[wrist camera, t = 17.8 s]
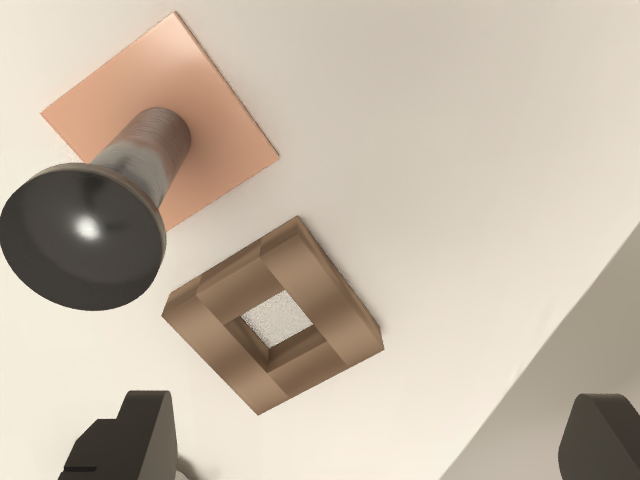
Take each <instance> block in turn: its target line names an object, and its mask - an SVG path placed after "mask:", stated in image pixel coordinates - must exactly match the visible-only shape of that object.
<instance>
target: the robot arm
mask: <svg viewBox="0 0 640 480" xmlns="http://www.w3.org/2000/svg"><path fill="white" fill-rule="evenodd" d="M558 462H559V468H560V472H561V476H562V479H563V480H640V415H639V414H638V412H637V411H636V410H635V408H634V407H633V406H632V404H630V402H629V401H628V399H627V398H625V397H624V396H623V395H621V394H580V395H578V396H577V398H576V399H575V402H574V404H573V407H572V410H571V414H570V416H569V419H568V422H567V426H566V428H565V431H564V435H563V437H562V440H561V444H560V446H559V452H558ZM176 468H177V440H176V431H175V423H174V414H173V406H172V398H171V393H170V392H169V391H129V392H128V393H127V394H126V396H125V399H124V401H123V404H122V406H121V408H120V411H119V413H118V416H117V418H116V419H97V420H96V421H95V422H94V423H93V424H92V425H91V426H90V427H89V428H88V429H87V430H86V431H85V432H84V433H83V434H82V435H81V436H80V437H79V438H78V439H77V440H76V442H75V444H74V446H73V448H72V450H71V452H70V455H69V457H68V459H67V461H66V463H65V465H64V471H63V472H61V474H60V476H59V478H58V480H175V476H176Z"/></svg>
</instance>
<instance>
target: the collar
mask: <svg viewBox="0 0 640 480" xmlns="http://www.w3.org/2000/svg"><path fill="white" fill-rule="evenodd" d="M283 290H286V291H287V292H288V293H289V295H290V296H291V297H292V298H293V299H294V301H295V302H296V303H297V304H298V306H299V307H300V308H301V309H302V311H303V312H304V313H305V314H306V316H307V317H308V318H309V319H310V320H311V322H312V323H313V324H314V325H312V326H310V327H308V328H306V329H305V330H303V331H301V332H299V333H297V334H296V335H294V336H292V337H290V338H288V339H287V340H285V341H283V342H281V343H279V344H277V345H276V346H274V347H272V348H270V349H268V347H267V346H266V345H265V344H264V343H263V342H262V341H261V340H260V338H259V337H258V336H257V335H256V334H255V333H254V332H253V330H252V329H251V328H250V327H249V326H248V325H247V324H246V323H245V321H244V320H243V319H242V318H241V317H240V315H242V314H244V313H245V312H247V311H249V310H250V309H252V308H254V307H256V306H257V305H259V304H261V303H263V302H264V301H266V300H268V299H269V298H271V297H273V296H275V295H276V294H278V293H280V292H282V291H283ZM161 316H162V317H163V318H164V319H165V320H166V321H167V322H168V323H169V324H170V325H171V326H172V328H173V329H174V330H175V331H176V332H177V333H178V334H179V335H180V336H181V337H182V338H183V339H184V340H185V341H186V342H187V343H188V344H189V345H190V346H191V347H192V348H193V349H194V350H195V351H196V352H197V353H198V354H199V355H200V356H201V357H202V358H203V359H204V361H205V362H206V363H207V364H208V365H209V366H210V367H211V368H212V369H213V370H214V371H215V372H216V373H217V374H218V375H219V376H220V377H221V378H222V379H223V380H224V381H225V382H226V383H227V384H228V385H229V386H230V387H231V388H232V389H233V390H234V391H235V392H236V394H237V395H238V396H239V397H240V398H241V399H242V400H243V401H244V402H245V403H246V404H247V405H248V406H249V407H250V408H251V409H252V410H253V411H254V412H255V413H256V414H257V415H260V414H262V413H264V412H266V411H268V410H270V409H272V408H274V407H276V406H277V405H279V404H281V403H283V402H285V401H287V400H289V399H291V398H293V397H295V396H297V395H299V394H300V393H302V392H304V391H306V390H308V389H310V388H312V387H314V386H316V385H318V384H320V383H322V382H323V381H325V380H327V379H329V378H331V377H333V376H335V375H337V374H339V373H341V372H343V371H345V370H347V369H348V368H350V367H352V366H354V365H356V364H358V363H360V362H362V361H364V360H366V359H368V358H370V357H371V356H373V355H375V354H377V353H379V352H381V351H383V350H384V345H383V341H382V336H381V331H380V327H379V325H378V324H377V322H376V321H375V320H374V318H373V317H372V316H371V314H370V313H369V312H368V310H367V309H366V308H365V306H364V305H363V304H362V302H361V301H360V300H359V298H358V297H357V296H356V294H355V293H354V291H353V290H352V289H351V287H350V286H349V285H348V283H347V282H346V281H345V279H344V278H343V277H342V275H341V274H340V273H339V271H338V270H337V269H336V267H335V266H334V264H333V263H332V262H331V260H330V259H329V258H328V256H327V255H326V254H325V252H324V251H323V250H322V248H321V247H320V246H319V244H318V243H317V242H316V240H315V239H314V237H313V236H312V235H311V233H310V232H309V231H308V229H307V228H306V227H305V225H304V224H303V223H302V221H301V220H300V219H299V217H298V216H296V217H295V218H293V219H291V220H290V221H288V222H286V223H285V224H283V225H282V226H280V227H278V228H277V229H275V230H273V231H272V232H270V233H268V234H267V235H265V236H264V237H262V238H260V239H259V240H257V241H255V242H254V243H252V244H250V245H249V246H247V247H246V248H244V249H242V250H241V251H239V252H237V253H236V254H234V255H232V256H231V257H229V258H228V259H226V260H224V261H223V262H221V263H219V264H218V265H216V266H214V267H213V268H211V269H210V270H208V271H206V272H205V273H203V274H201V275H200V276H198V277H196V278H195V279H193V280H191V281H190V282H188V283H187V284H185V285H183V286H182V287H180V288H178V289H177V290H175V291H173V292H172V293H170V295H169V298H168V300H167V303H166V305H165V308H164V310H163V313H162V315H161Z"/></svg>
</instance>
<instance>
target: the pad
mask: <svg viewBox="0 0 640 480" xmlns="http://www.w3.org/2000/svg"><path fill="white" fill-rule="evenodd" d="M153 107H161V108H166V109H169V110H171V111H173V112H175V113H176V114H178V115H179V116H180V117H181V118H182V119H183V120H184V121H185V123H186V124H187V126H188V128H189V130H190V134H191V147H190V150H189V152H188V154H187V156H186V158H185V160H184V162H183V163H182V165H181V167H180V169H179V171H178V173H177V175H176V177H175V179H174V180H173V182H172V184H171V186H170V188H169V190H168V192H167V194H166V196H165V197H164V199H163V201H162V203H161V205H160V207H159V209H158V210H159V212H160V214H161V217H162V219H163V222H164V225H165V230H166V232H167V231H168V230H170V229H171V228H173V227H175V226H176V225H178V224H179V223H181V222H182V221H184V220H185V219H187V218H188V217H190V216H192V215H193V214H195V213H196V212H198V211H199V210H201V209H202V208H204V207H206V206H207V205H209V204H210V203H212V202H213V201H215V200H216V199H218V198H219V197H221V196H223V195H224V194H226V193H227V192H229V191H230V190H232V189H233V188H235V187H237V186H238V185H240V184H241V183H243V182H244V181H246V180H247V179H249V178H250V177H252V176H254V175H255V174H257V173H258V172H260V171H261V170H263V169H264V168H266V167H268V166H269V165H271V164H272V163H274V162H275V161H277V160H278V159H279V155H278V154H277V152H276V151H275V149H274V148H273V147H272V145H271V144H270V142H269V141H268V140H267V138H266V137H265V135H264V134H263V133H262V131H261V130H260V128H259V127H258V126H257V124H256V123H255V121H254V120H253V119H252V117H251V116H250V115H249V113H248V112H247V110H246V109H245V108H244V106H243V105H242V103H241V102H240V101H239V99H238V98H237V96H236V95H235V94H234V92H233V91H232V89H231V88H230V87H229V85H228V84H227V82H226V81H225V80H224V78H223V77H222V75H221V74H220V73H219V71H218V70H217V68H216V67H215V66H214V64H213V63H212V61H211V60H210V59H209V57H208V56H207V55H206V53H205V52H204V50H203V49H202V48H201V46H200V45H199V43H198V42H197V41H196V39H195V38H194V36H193V35H192V34H191V32H190V31H189V29H188V28H187V27H186V25H185V24H184V22H183V21H182V20H181V18H180V17H179V15H178V14H177V13H176V11H175V12H173V13H171V14H170V15H169V16H167V17H166V18H165V19H163V20H162V21H161V22H160V23H158V24H157V25H156V26H154V27H153V28H152V29H150V30H149V31H148V32H146V33H145V34H144V35H142V36H141V37H140V38H138V39H137V40H136V41H135V42H133V43H132V44H131V45H129V46H128V47H127V48H125V49H124V50H123V51H121V52H120V53H119V54H117V55H116V56H115V57H113V58H112V59H111V60H110V61H108V62H107V63H106V64H104V65H103V66H102V67H100V68H99V69H98V70H96V71H95V72H94V73H92V74H91V75H90V76H88V77H87V78H86V79H85V80H83V81H82V82H81V83H79V84H78V85H77V86H75V87H74V88H73V89H71V90H70V91H69V92H67V93H66V94H65V95H63V96H62V97H61V98H60V99H58V100H57V101H56V102H54V103H53V104H52V105H50V106H49V107H48V108H46V109H45V110H44V111H42V112H41V113H40V114H41V115H42V117H43V118H44V119H45V120H46V121H47V122H48V123H49V124H50V125H51V127H52V128H53V129H54V130H55V131H56V132H57V133H58V134H59V135H60V137H61V138H62V139H63V140H64V141H65V142H66V143H67V144H68V145H69V146H70V148H71V149H72V150H73V151H74V152H75V153H76V154H77V155H78V156H79V158H80V159H81V160H82V161H83V162H84V163H88V164H89V163H90V162H91V161H92V160H93V159H94V158H95V157H96V156H97V155H98V154H99V153H100V152H101V151H102V150H103V149H104V148H105V147H106V146H107V145H108V144H109V143H110V142H111V141H112V140H113V139H114V138H115V137H116V136H117V135H118V134H119V133H120V132H121V131H122V130H123V129H124V128H125V127H126V126H127V125H128V123H129V122H130V121H131V120H132V119H133V118H134V117H135V116H136V115H137V114H139V113H140V112H141V111H143V110H145V109H148V108H153Z"/></svg>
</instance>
